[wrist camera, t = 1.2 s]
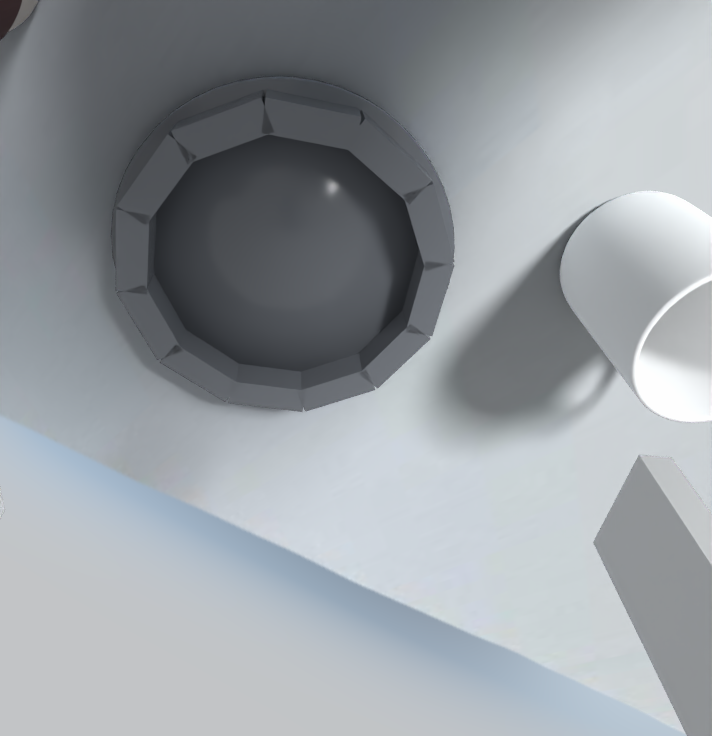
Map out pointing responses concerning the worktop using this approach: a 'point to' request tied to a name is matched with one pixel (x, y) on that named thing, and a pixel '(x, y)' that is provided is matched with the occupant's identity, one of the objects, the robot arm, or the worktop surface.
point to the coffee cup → (14, 13)
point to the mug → (648, 297)
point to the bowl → (282, 243)
